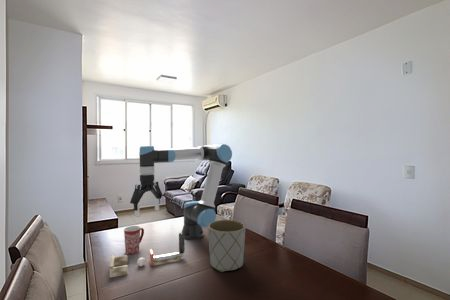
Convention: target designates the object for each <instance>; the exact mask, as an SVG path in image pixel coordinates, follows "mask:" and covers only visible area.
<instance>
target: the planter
mask: <svg viewBox="0 0 450 300" xmlns="http://www.w3.org/2000/svg"><path fill="white" fill-rule="evenodd" d="M207 230H208V231H207V232H208V233H207V234H208V249H209V262H210V266H211V267H212V268H213V269H215V270H216V271H218V272H221V273H224V272H228V271H235V270H237V269H240V268H243V265H244V257H245V256H244V255H245V253H244V252H245V241H246V224H245V223H244V222H241V221H238V220H233V219H219V220H215V221H214V222H212V223H210V224H209V225H208V227H207Z"/></svg>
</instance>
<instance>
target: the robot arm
mask: <svg viewBox="0 0 450 300" xmlns="http://www.w3.org/2000/svg"><path fill="white" fill-rule="evenodd" d="M232 156H233V151H232V149H231V147H230V146H229V145H228V144H227V143H226V144H225V143H215V144H214V143H212V144H206V145H199V146H198V147H180V148H155V146H153V145H142V146H140V147H139V181H140V184H135V187H134V190H133V193H132V196H131V198H130V201H129V204H133V211H134V217H136V218H139V217H140V216H141V215H140V214H141V213H140V201H141V199H142V197H143V196H144V194H145V193H146V192H147V193H148V192H151V194H152V195H153V196H154V210H155V211H160V203H161V199H162V197H163V193H162V190H161V188H160V186H159V181H155V164H156V163H159V164H160V163H173V162H175V161H180V160H184V161H185V160H196V159H197V160H199V161H201V160H204V161H208V163H209V164H210V166H209V168H208V169H209V170H208V173H207V176H206V180H205V184H204V186H203V187H204V188H203V190H202V194H201V198H200V200H195V201H193V200H192V201H187V202H185V203H183V226H182V229H181V232H180V233H185V240H198V239H202V238H203V237H204V236H205V235H204V233H205V232H204V228H208V225H209V224H210V223H212V222H214V221H216V219H217V214H216V211H215V210H216V206H215V200H216V196H217V191H218V188H219V185H220V180H221V176H222V173H223V169H224V168H225V167H227V163H228V162H229V161H231V160H232V158H233V157H232Z"/></svg>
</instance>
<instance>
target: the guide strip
mask: <svg viewBox="0 0 450 300" xmlns="http://www.w3.org/2000/svg"><path fill="white" fill-rule="evenodd" d="M154 256H157V255H154ZM181 260H182V257H181V254H179V255H177V258H172V259H167V260H161V261H157V258H156V259H153V266H159V265H164V264H169V263H173V262H180V261H181ZM153 266H152V267H153Z"/></svg>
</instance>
